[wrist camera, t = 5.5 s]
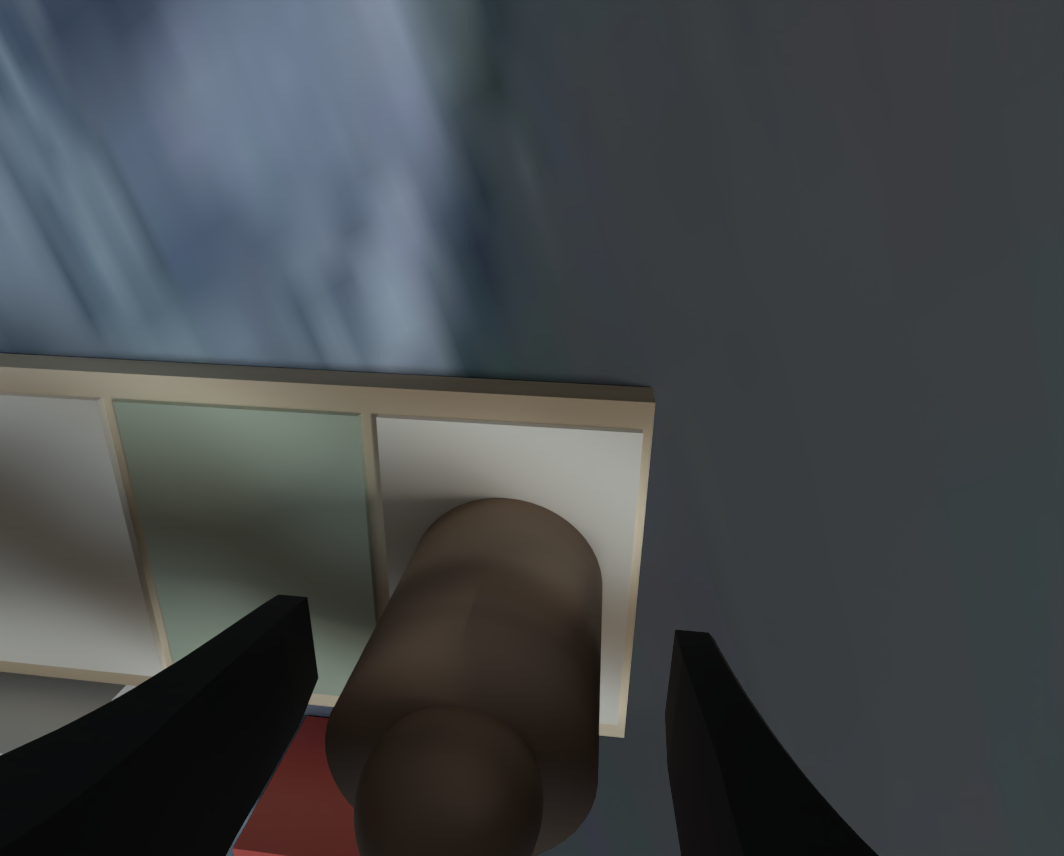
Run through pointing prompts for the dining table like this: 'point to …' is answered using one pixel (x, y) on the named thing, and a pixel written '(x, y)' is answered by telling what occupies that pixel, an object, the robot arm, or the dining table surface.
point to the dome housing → (46, 705)
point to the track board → (282, 502)
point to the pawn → (477, 691)
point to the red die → (301, 805)
